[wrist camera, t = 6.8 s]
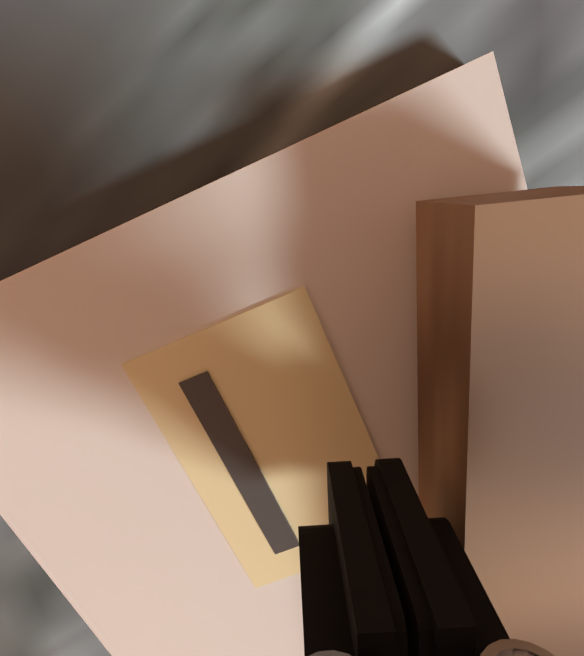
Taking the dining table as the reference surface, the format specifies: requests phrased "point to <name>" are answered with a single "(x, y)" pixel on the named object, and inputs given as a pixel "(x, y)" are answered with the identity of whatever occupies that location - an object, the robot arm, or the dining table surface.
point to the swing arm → (507, 398)
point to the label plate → (231, 372)
